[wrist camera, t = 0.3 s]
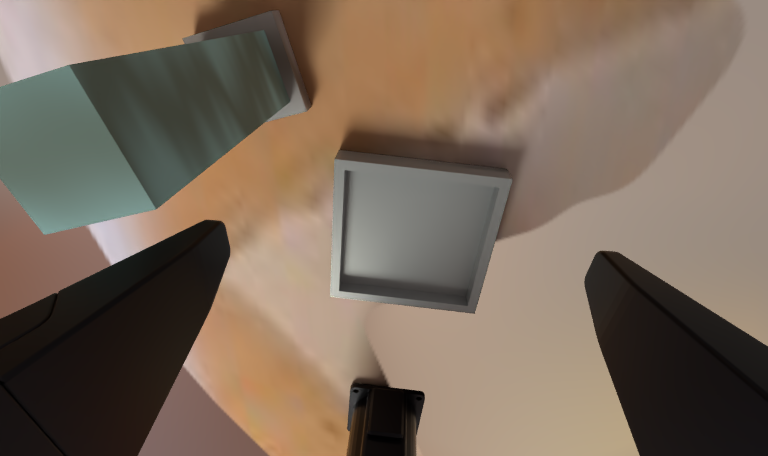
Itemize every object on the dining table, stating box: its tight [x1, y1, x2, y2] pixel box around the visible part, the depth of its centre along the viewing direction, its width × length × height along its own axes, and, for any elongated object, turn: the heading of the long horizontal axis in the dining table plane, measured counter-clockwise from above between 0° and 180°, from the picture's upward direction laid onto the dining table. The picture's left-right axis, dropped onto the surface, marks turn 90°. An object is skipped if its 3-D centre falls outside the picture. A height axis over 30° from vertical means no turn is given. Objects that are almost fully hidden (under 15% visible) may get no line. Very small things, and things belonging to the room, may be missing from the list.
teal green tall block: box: [0, 10, 312, 235], centre depth 16 cm, size 5×5×14 cm
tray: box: [330, 150, 513, 313], centre depth 25 cm, size 10×10×2 cm
